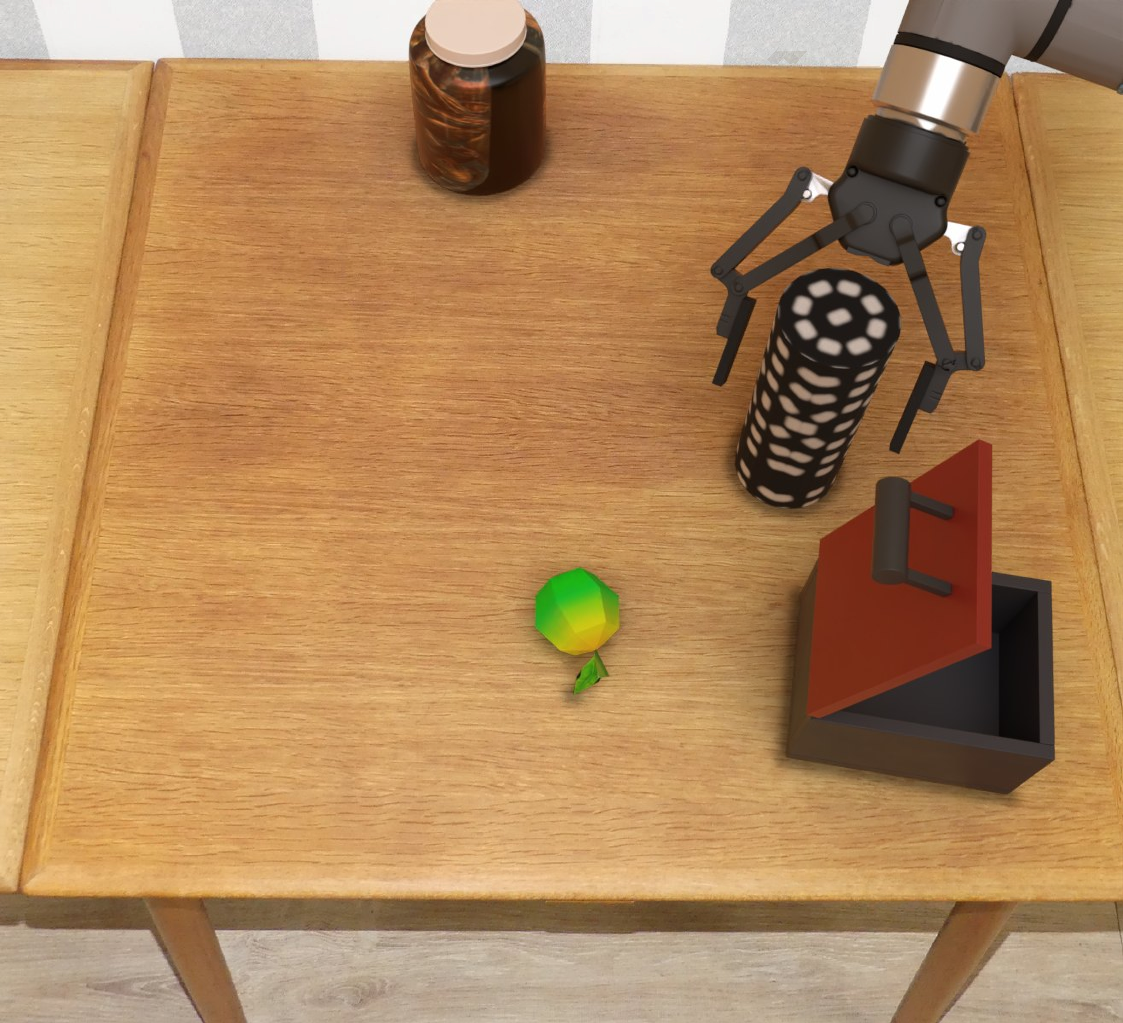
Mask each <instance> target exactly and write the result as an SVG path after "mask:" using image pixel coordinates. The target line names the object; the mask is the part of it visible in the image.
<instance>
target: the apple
mask: <svg viewBox="0 0 1123 1023" xmlns="http://www.w3.org/2000/svg"><path fill="white" fill-rule="evenodd" d="M534 602H535V604H534V606H535V612H534V613H535V614H534V619H535V620H534V621H535V622H534V627H535V629H536V630H537V631H538V632H539V633H540V634H541V635H543V636H544V637H545V639H547V640H548V641H549V642H550V643H551V644H552V645H553V646H554V647H556V648H557V650H559V651H561V652H563V653H566V654H569V655H572V656H579V655H583V654H586V653H591V652H593V655H594V656H593V657H591V658H590V660H588V662H587V663H585V665H584V666H583V667H582V668H581V669H580V671H579V672H578V674H577V675H576V679H575V685H574V690H573V695H574V696H575V695H576V694H579V693H580V692H582V691H584V690H586V689H588V688H590V687H592V686H594V685H596V684H597V683H600V681H601V679H603V678H608V677H609V678H610V674H609V672H608V670H607V668H606V667H605V664H604V662H603V660H602V658H601V656H600V654H599V653H598V649H599V648H601V647H602V646H603V645H604V644H606V643H607V641H609V640H610V638H612V636H613V635H614V634H615V633H616V632H617V631H618V630H619V629H620V628H621V626H620V624H621V623H620V596H619V595H618V594H617V593H616V592H615V591H614V590H613V589H612V588H610V586H608V585H607V584H606V583H605V582H603V581H602V579H600V578H599V577H598V576H597V575H596V574H595V573H593V572H591V571H589V570H587V569H585V568H582V567H581V566H579V567H577V568H573V569H570V570H567V571H564V572H562V573H561V572H560V573H559V574H557V575H554V576H552V577H550V578H549V579H548V580H547V581H546V583H545V584H544V585H543V586H542V587H541V589H540V590H539V591H538V592H537V593H536V594H535V598H534Z"/></svg>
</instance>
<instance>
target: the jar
mask: <svg viewBox="0 0 1123 1023" xmlns="http://www.w3.org/2000/svg"><path fill="white" fill-rule="evenodd" d="M546 61H547V56H546V43H545V37H544V33H543V30H542V27H541V26H540V24H539V22H538V20H537V19H536V18H535V17H534V15H532V13H530V11H528V10H527V9H525V8H524V6H523V4H522V3H521V2H520V1H519V0H435V1H433V2H432V4H430V5H429V8H428V9H427V12H426V14H424V15H423V16H422V17H421V19H420V20H418V22H417V23H416V24H415V26H414V28H413V30H412V33H411V35H410V38H409V43H408V68H409V70H408V71H409V81H410V90H411V91H410V92H411V99H412V111H413V118H414V127H415V134H416V143H417V144H416V145H417V150H418V157H419V161H420V163H421V166H422V168H423V170H424V171H425V173H426V174H427V175H428V176H429V178H430V179H431V180H433V181H434V182H435V183H436V184H438V185H440V186H441V187H443V188H445V189H447V190H450V191H451V192H455V193H459V194H463V195H470V196H486V195H487V196H488V195H494V194H495V195H496V194H499V193H503V192H506V191H508V190H511V189H514V188H516V187H517V186H519V185H521V184H523V183H524V182H526V181H527V180H528V179H529V178H530V177H532V176H533V175H534V173H536V171H537V170H538V168H539V167H540V165H541V163H542V161H543V158H544V155H545V150H546V135H547V134H546V133H547V132H546V130H547V128H546V127H547V126H546V125H547V62H546Z"/></svg>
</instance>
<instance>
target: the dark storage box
mask: <svg viewBox="0 0 1123 1023" xmlns="http://www.w3.org/2000/svg"><path fill="white" fill-rule="evenodd" d="M818 558H819V556H818V557H817V559H816V560H815V563H814V565H813V567H812V569H811V571H810V573H809V574H808V575H809V576H808V577H807V580H806V581H805V584H804V585H803V588H802V590H801V592H800V594H799V598H798V610H797V622H796V634H795V646H794V657H793V670H792V680H791V693H790V706H789V717H788V727H787V728H788V729H787V740H786V751H785V752H786V753H785V757H786V758H787V759H793V760H798V761H799V760H800V761H805V762H811V763H817V764H823V765H830V766H834V767H835V766H836V767H841V768H846V769H853V770H859V771H865V772H871V773H875V774H876V773H877V774H883V775H889V776H894V777H899V778H900V777H901V778H907V779H912V780H917V781H918V780H919V781H925V782H931V783H937V784H942V785H948V786H953V787H954V786H955V787H960V788H967V789H973V790H978V791H984V792H991V793H996V794H1002V795H1009V794H1011V793H1012V792H1013V791H1014V790H1016V789H1018V788H1019V787H1020V786H1022V785H1023V784H1024V783H1025V782H1027V781H1028V780H1029V779H1031V778H1033V777H1034V776H1035V775H1036V774H1038V773H1039V772H1041V771H1042V770H1043V769H1045V768H1046V767H1047V766H1048V765H1050V764H1051V763H1053V762H1054V761H1055V760H1056V746H1055V745H1056V740H1055V739H1056V733H1055V730H1056V728H1055V726H1056V725H1055V687H1054V686H1055V681H1054V680H1055V679H1054V678H1055V677H1054V635H1053V633H1054V632H1053V630H1054V629H1053V594H1052V593H1053V590H1052V588H1053V587H1052V586H1053V585H1052V580H1047V579H1042V578H1041V579H1040V578H1034V577H1028V576H1022V575H1015V574H1010V573H1004V572H1002V573H1001V572H998V571H997V572H996V571H992V616H991V648H990V649H988V650H985V651H983V652H980V653H978V654H975V655H973V656H971V657H968V658H966V659H963V660H961V661H958V662H956V663H953V664H951V665H949V666H946V667H944V668H941V669H939V670H936V671H934V672H931V673H929V674H927V675H924V676H922V677H919V678H917V679H914V680H912V681H909V682H907V683H905V684H902V685H900V686H897V687H895V688H892V689H890V690H887V691H885V692H882V693H880V694H878V695H875V696H873V697H870V698H868V699H865V700H863V701H860V702H858V703H856V704H853V705H851V706H848V707H846V708H843V709H841V710H838V711H836V712H834V713H831V714H829V715H826V716H824V717H821V718H816V717H813V716H809V715H807V714H806V713H807V700H808V687H809V674H810V661H811V649H812V636H813V623H814V610H815V597H816V584H817V571H818Z"/></svg>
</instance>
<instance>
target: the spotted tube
mask: <svg viewBox="0 0 1123 1023" xmlns="http://www.w3.org/2000/svg"><path fill="white" fill-rule="evenodd" d="M770 328H771V329H770V332H769V334H768V339H767V342H766V346H765V349H764V353H763V355H762V359H761V363H760V366H759V370H758V373H757V377H756V380H755V383H754V387H753V390H752V393H751V397H750V401H749V403H748V404H749V405H748V408H747V411H746V414H745V418H744V421H743V425H742V429H741V433H740V435H739V439H738V442H737V445H736V449H735V453H734V466H735V472H736V475H737V477H738V479H739V482H740V483H741V484H742V485H743V487H744V489H745V490H747V492H748V493H750V495H752V496H753V497H754V498H756V499H757V500H759V501H760V502H762V503H765V504H767V505H769V506H771V507H775V508H778V509H779V508H780V509H790V510H792V509H793V510H794V509H799V508H800V509H802V508H804V507H808V506H811V505H813V504H816V503H817V502H819V501H820V500H822V498H824V497H825V496H826V495H827V494H828V493H829V491H830V490H831V488H832V487H833V485H834V482H835V480H836V478H837V476H838V473H839V471H840V469H841V467H842V465H843V462H844V460H845V458H846V456H847V454H848V451H849V449H850V447H851V445H852V442H853V440H854V438H855V436H856V434H857V431H858V429H859V427H860V425H861V422H862V421H863V419H864V416H865V414H866V412H867V409H868V408H869V405H870V403H871V401H872V398H873V397H874V394H875V392H876V390H877V388H878V385H879V383H880V381H881V378H882V376H883V374H884V372H885V369H886V367H887V365H888V363H889V360H890V358H891V356H892V354H893V352H894V350H895V347H896V345H897V343H898V341H899V339H900V337H901V331H902V316H901V312H900V309H899V306H898V304H897V303H896V301H895V299H894V297H893V296H892V294H890V293H889V291H888V290H887V289H886V288H885V287H884V286H882V284H881V283H879V282H878V281H877V280H875V279H873V278H871V277H870V276H868V275H866V274H864V273H861V272H858V271H856V270H851V269H847V268H841V267H839V268H838V267H825V268H818V269H814V270H811V271H807V272H806V273H803V274H801V275H799V276H798V277H796V278H795V279H794V280H792V281H791V282H790V283H789V284H788V285H787V287H786V288H785V289H784V290H783V292H782V294H781V296H780V298H779V301H778V304H777V308H776V311H775V313H774V318H773V321H772V325H771V327H770Z"/></svg>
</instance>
